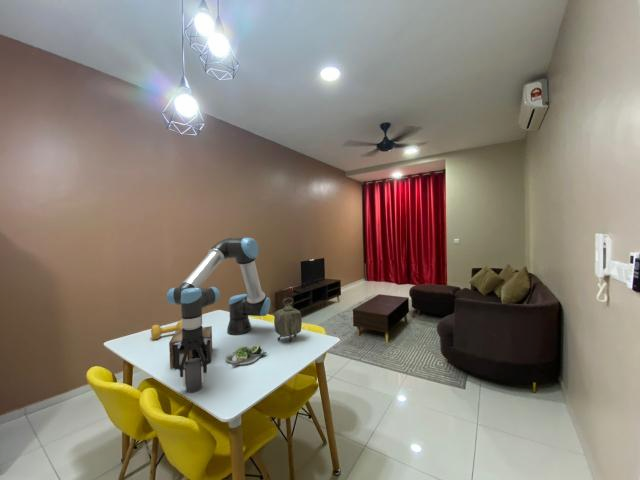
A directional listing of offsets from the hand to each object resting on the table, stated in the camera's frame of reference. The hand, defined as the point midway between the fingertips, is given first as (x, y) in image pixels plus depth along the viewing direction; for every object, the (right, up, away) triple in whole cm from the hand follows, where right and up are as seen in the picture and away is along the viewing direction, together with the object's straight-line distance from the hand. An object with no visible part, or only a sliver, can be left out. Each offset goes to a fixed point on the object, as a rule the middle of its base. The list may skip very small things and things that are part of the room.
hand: (194, 382), depth 106 cm
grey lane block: (-17, -2, +23) cm, 29 cm away
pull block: (-2, -2, +6) cm, 7 cm away
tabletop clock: (+33, -1, +46) cm, 57 cm away
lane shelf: (-14, -2, +27) cm, 30 cm away
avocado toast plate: (+14, -2, +27) cm, 30 cm away
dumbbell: (-43, -2, +57) cm, 72 cm away
